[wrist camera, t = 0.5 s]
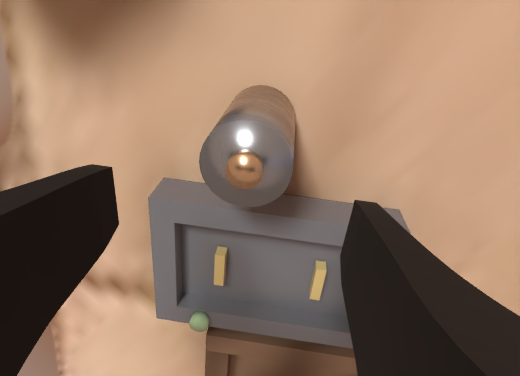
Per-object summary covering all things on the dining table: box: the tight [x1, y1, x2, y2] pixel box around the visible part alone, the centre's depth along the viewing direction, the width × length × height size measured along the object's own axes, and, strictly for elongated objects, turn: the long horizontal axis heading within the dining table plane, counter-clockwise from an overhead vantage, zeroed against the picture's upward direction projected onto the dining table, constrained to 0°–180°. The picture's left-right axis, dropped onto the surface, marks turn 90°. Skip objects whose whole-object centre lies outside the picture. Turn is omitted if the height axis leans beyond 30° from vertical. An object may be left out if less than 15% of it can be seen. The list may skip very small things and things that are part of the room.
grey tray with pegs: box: [148, 178, 410, 349], centre depth 21 cm, size 14×9×3 cm
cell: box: [199, 85, 296, 207], centre depth 16 cm, size 4×4×6 cm
